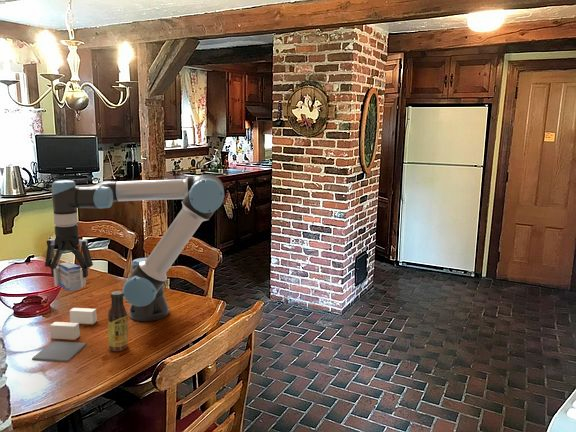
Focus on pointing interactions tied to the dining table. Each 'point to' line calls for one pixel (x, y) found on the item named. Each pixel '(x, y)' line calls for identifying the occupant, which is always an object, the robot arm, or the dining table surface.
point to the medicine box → (69, 276)
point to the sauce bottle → (117, 323)
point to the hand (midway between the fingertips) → (70, 285)
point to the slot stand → (73, 324)
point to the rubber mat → (59, 351)
